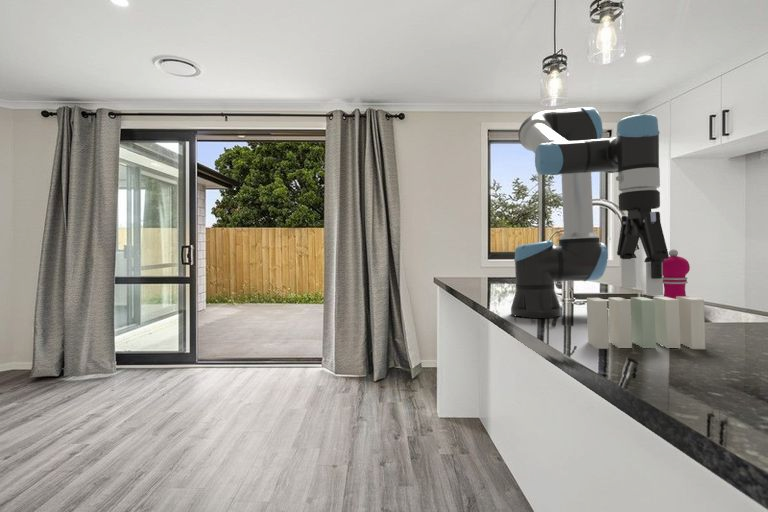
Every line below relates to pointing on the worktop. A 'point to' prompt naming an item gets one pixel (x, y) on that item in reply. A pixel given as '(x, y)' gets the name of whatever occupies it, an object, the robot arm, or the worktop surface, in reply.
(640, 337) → the tile
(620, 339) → the tile
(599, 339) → the tile
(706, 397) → the worktop surface
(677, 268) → the pepper mill
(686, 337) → the tile
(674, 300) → the tile
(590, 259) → the robot arm
